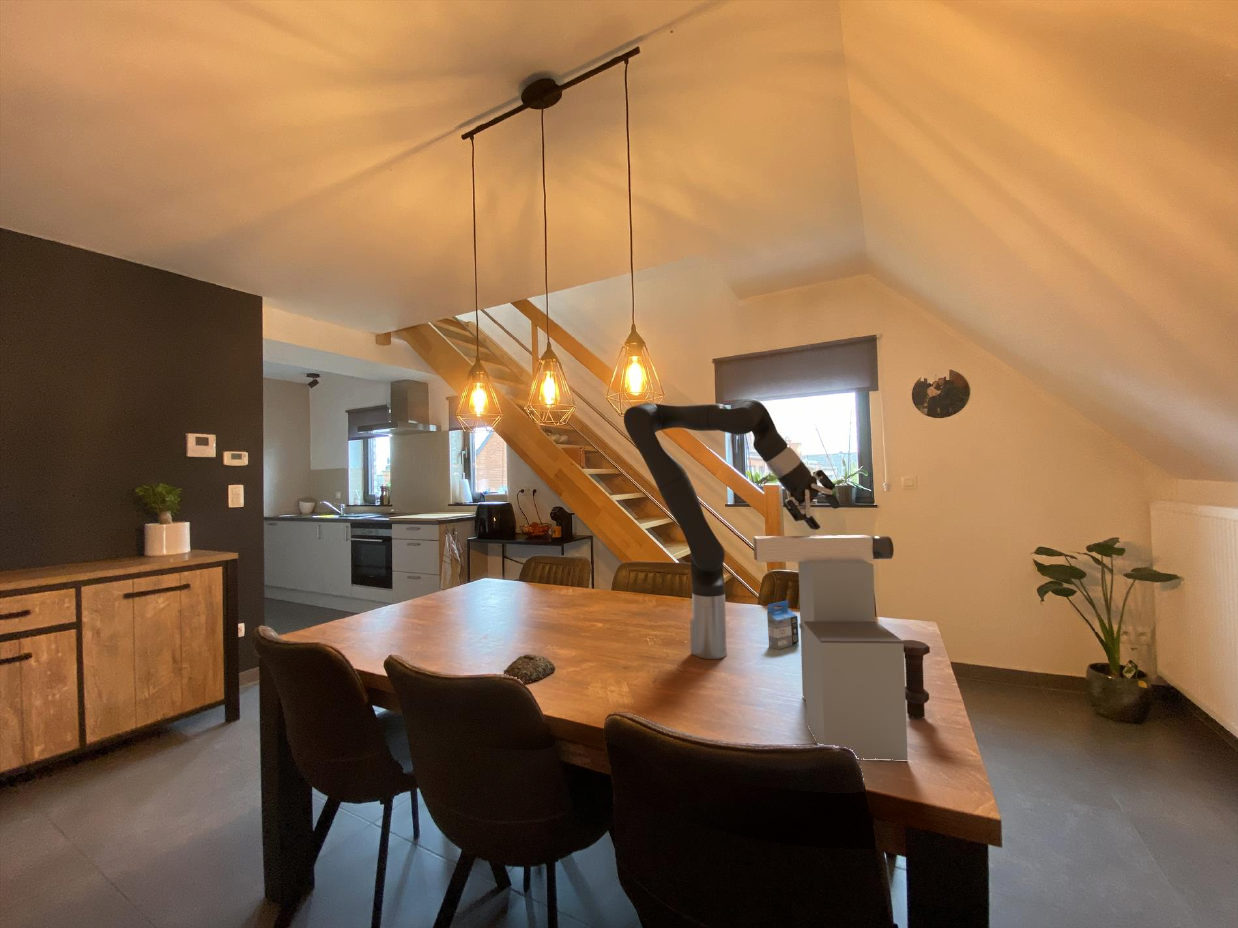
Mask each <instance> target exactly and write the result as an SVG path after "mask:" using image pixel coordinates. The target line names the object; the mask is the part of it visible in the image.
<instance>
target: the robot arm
mask: <svg viewBox="0 0 1238 928" xmlns="http://www.w3.org/2000/svg"><path fill="white" fill-rule="evenodd" d="M623 424H624V428H625V430H626V432H627V434H628V436H629V437H630V439H631V441H632V442H633V443H634V446H635V447H636V449H637V450H638V452H639V454H640V455H641V457H642V458H643V460H644V463H645V465H646V466H647V468H648V470H649V473H650V475H651V476H652V478H653V480H654V482H655V484H656V485H655V486H656V487H657V489H658V491H659V493H660V496H661V497H662V500H663V502H664V503H665V505H666V507H667V508H668V510H669V511H670V513H671V515H672V516H673V518H674V519H675V521H676V523H677V525H678V526H679V528H680V529H681V532H682V533H683V535H684V538H685V540H686V543H687V546H688V549H689V550H690V552H689V553H690V573H691V576H690V578H691V594H692V595H691V596H692V597H691V599H692V618H691V619H690V620H689V623H690V624H689V626H690V627H689V632H690V635H689V636H690V654H691V655H694V656H696V657H698V658H701V659H706V660H718V659H722V658H724V657H726V656H727V653H728V652H727V650H728V646H727V618H726V617H727V616H726V615H727V614H726V584H725V579H724V578H725V577H724V561H725V558H726V553H725V549H724V546H723V544H722V543H721V542H720V541H719V539H718V538H717V536H716V534H715V533H714V532H713V529H712V528H711V526H710V525H709V523H708V521H707V518H706V516H705V514H704V512H703V509H702V506H701V503H700V501H699V500H700V499H699V498H698V495H697V492H696V491H695V488H694V485H693V483H692V482H691V479H690V477H689V476H688V473H687V471H686V470H685V468H684V467H683V466H682V464H681V463H680V462H678V461H677V460H676V459H675V458H674V457H673V456H671V454H670V453H668V452H667V451H666V449H664V447H663V445H662V444H661V443H660V441H659V439H658V437H657V435H656V433H657V432H659V431H664V430H669V429H673V428H676V429H678V428H680V429H687V430H690V431H696V432H697V431H698V432H709V431H710V432H712V431H714V432H715V431H720V432H722V433H727V434H732V435H739V436H740V435H746V434H750V433H752V435H753V437H754V439H753V443H752V444H753V448H754V449H755V451H756V453H757V454H758V455H759V456H760V458H761V459H762V460H763V462H764V463H765V464H766V466H767V468H768V470H769V471H770V472H771V473H772V475H773V476H774V477H775V478H776V480H777V481H778V482H779V483H780V485H781V486H782V487H783V488H784V490H785V491H787V492H788V493H789V496H790V497H789V498H788V499H786V500H784V501H783V502H782V504H783V506H784V507H785V509H786V510H787V512H788V513H789V514H790V517H792V519H793V520H794V521H795V522H801V521H804V523H805V524H806V525H807V526H808V527H809V529H812V530H814V531H816V530H819V529H820V528H821V525H820V524H819V523H818V521H816V519H815V518H814V516H813V515H811V511H810V508H811V503H812V502H813V501H814V500H815V498H816V497H818V496H819V495H820V496H822V497H824V499H825V500H826V502H827V503H828V504H829V505H830V506H831V507H832V509H834V510H835V509H836V510H837V509H839V508H840V507H841V505H840V501H839V500H838V498H837V497H836V496H835V495H834V492H833V490H834V489H836V485H835V483H834V482H833V481H832V480H831V478H829V476H828V475H827V474H826V473H825V472H824V471H823V470H822V469H818V470H815V471H813V472H812V471H811V470H810V469H809V468H808V466H806V465H807V464H805V463H804V461H803V460H802V459H801V458H800V457H799V455H798V453H796V452H795V450H794V449H793V448H791V446H790V445H789V444H788V443H787V442H786V440H785V439H784V438H783V436H782V435H781V434H780V433H779V432H778V430H777V427H776V424H775V423H774V420H773V419H772V417H771V414H770V413H769V411H768V409H767V408H766V406H765V405H764V404H763V403H762V402H761V401H759V400H757V399H755V398H753V397H752V398H746V399H743V400H742V401H741V402H740V403H739V404H738V405H737V406H735V407H733V408H728V407H727V406H726V405H724V404H722V403H706V404H705V403H704V404H690V405H669V404H668V405H667V404H661V403H654V402H643V403H640V404H637V405H633V406H630V407H628V408H627V409H626V410H625V412H624V414H623ZM818 483H820V484H821V485H818Z"/></svg>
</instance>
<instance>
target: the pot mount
mask: <svg viewBox="0 0 1238 928" xmlns="http://www.w3.org/2000/svg"><path fill="white" fill-rule="evenodd" d="M797 563H798V588H799V590H798V591H799V592H798V593H799V620H800V622H798V629H800V648H801V649H800V651H801V652H800V653H801V654H800V656H801V683H802V684H801V685H802V690H801V691H802V697H803V696H804V698H805V699H804V698H803V699H804V701H805V700H806V701H805V702H807V703H806V718H807V719H806V724H808V726H809V728H810V730H811V732H812V734H813V735H814V737H815V739H816V741H815V744H817V743H819V744H824V745H835V746H839V747H846V748H848V749H851V750H853V752H854V753H855V755H856V756H857V758H859V760H858V761H864V760H863V758H864V759H875V758H876V759H891V760H892V759H893V760H908V736H907V735H908V733H907V728H908V726H907V700H906V699H905V686H906V670H905V655H904V643H903V641H902V640H903V639H901V638H900V637H898V636H897V635H895V634H894V633H893V632H892V631H890V630H889V629H888V628H886V627H884V626H883V625H882V624H880V623H879V622H877V621H876V604H875V603H876V602H875V600H876V599H875V579H874V578H875V576H874V573H875V572H874V571H875V570H874V564H873V563H871V562H870V561H810V562H797ZM808 726H807V727H808ZM809 728H808V729H809ZM810 730H809V731H810ZM811 732H810V733H811ZM812 734H811V735H812ZM815 739H814V740H815ZM861 759H862V760H861Z"/></svg>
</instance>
